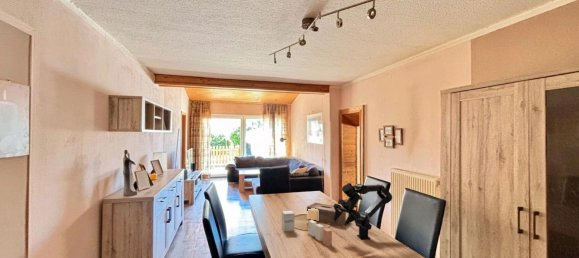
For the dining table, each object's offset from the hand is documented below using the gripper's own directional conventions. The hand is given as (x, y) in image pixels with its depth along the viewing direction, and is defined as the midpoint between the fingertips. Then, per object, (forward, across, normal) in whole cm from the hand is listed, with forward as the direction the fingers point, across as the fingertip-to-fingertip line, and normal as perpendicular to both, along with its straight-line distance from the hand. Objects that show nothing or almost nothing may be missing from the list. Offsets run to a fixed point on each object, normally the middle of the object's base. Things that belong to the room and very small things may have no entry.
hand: (339, 222), depth 159 cm
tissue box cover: (-5, -39, +25) cm, 46 cm away
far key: (+13, -18, +3) cm, 22 cm away
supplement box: (+20, -34, -2) cm, 39 cm away
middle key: (+13, -10, +3) cm, 17 cm away
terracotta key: (+14, -2, +2) cm, 14 cm away
